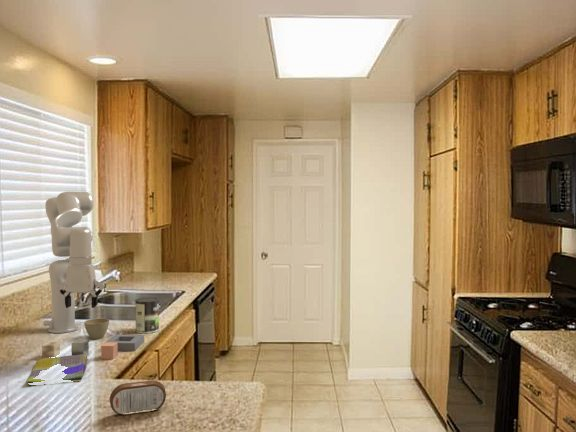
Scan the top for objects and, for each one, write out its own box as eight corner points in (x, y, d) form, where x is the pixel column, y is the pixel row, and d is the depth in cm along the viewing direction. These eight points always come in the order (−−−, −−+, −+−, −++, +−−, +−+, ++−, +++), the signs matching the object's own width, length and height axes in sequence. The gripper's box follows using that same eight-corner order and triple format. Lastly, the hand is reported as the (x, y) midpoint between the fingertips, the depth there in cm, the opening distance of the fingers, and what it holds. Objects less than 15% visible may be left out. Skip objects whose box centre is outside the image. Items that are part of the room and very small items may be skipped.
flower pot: (79, 338, 212) (78, 322, 212) (98, 333, 221) (97, 317, 221) (95, 342, 208) (95, 324, 207) (114, 336, 216) (114, 319, 216)
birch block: (42, 358, 186) (42, 345, 186) (48, 355, 191) (47, 341, 190) (54, 358, 186) (54, 345, 186) (59, 355, 191) (59, 342, 190)
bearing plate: (104, 350, 196) (104, 342, 196) (115, 341, 208) (115, 334, 208) (134, 350, 196) (134, 343, 196) (144, 341, 208) (144, 334, 208)
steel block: (71, 358, 186) (71, 342, 186) (76, 355, 190) (76, 339, 190) (83, 359, 186) (83, 342, 186) (88, 355, 190) (88, 339, 190)
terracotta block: (101, 359, 186) (101, 345, 186) (105, 355, 190) (105, 342, 190) (113, 359, 186) (113, 345, 186) (117, 355, 190) (117, 342, 190)
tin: (165, 406, 144) (165, 377, 144) (166, 410, 141) (166, 381, 141) (109, 414, 138) (109, 384, 138) (110, 419, 136) (109, 388, 135)
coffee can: (161, 327, 231) (161, 297, 231) (155, 333, 221) (155, 301, 220) (139, 327, 231) (139, 297, 231) (132, 333, 221) (131, 301, 220)
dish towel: (22, 389, 158) (22, 380, 158) (37, 364, 181) (37, 357, 181) (82, 383, 163) (82, 374, 163) (89, 360, 186) (89, 352, 186)
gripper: (52, 262, 184) (53, 309, 184) (100, 262, 184) (100, 309, 184) (62, 260, 191) (63, 305, 192) (107, 260, 191) (108, 305, 192)
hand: (81, 307), depth 188 cm, fingers open, 9 cm apart
